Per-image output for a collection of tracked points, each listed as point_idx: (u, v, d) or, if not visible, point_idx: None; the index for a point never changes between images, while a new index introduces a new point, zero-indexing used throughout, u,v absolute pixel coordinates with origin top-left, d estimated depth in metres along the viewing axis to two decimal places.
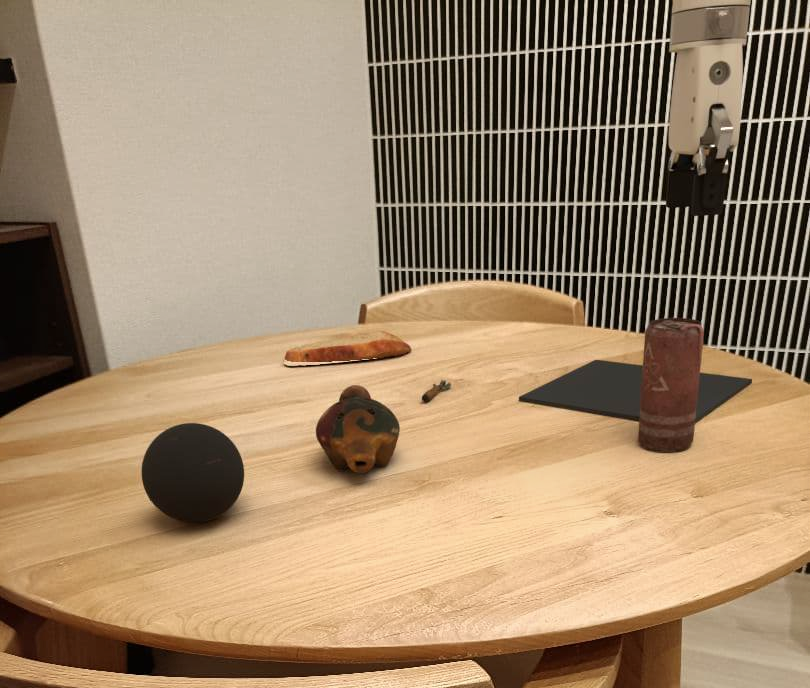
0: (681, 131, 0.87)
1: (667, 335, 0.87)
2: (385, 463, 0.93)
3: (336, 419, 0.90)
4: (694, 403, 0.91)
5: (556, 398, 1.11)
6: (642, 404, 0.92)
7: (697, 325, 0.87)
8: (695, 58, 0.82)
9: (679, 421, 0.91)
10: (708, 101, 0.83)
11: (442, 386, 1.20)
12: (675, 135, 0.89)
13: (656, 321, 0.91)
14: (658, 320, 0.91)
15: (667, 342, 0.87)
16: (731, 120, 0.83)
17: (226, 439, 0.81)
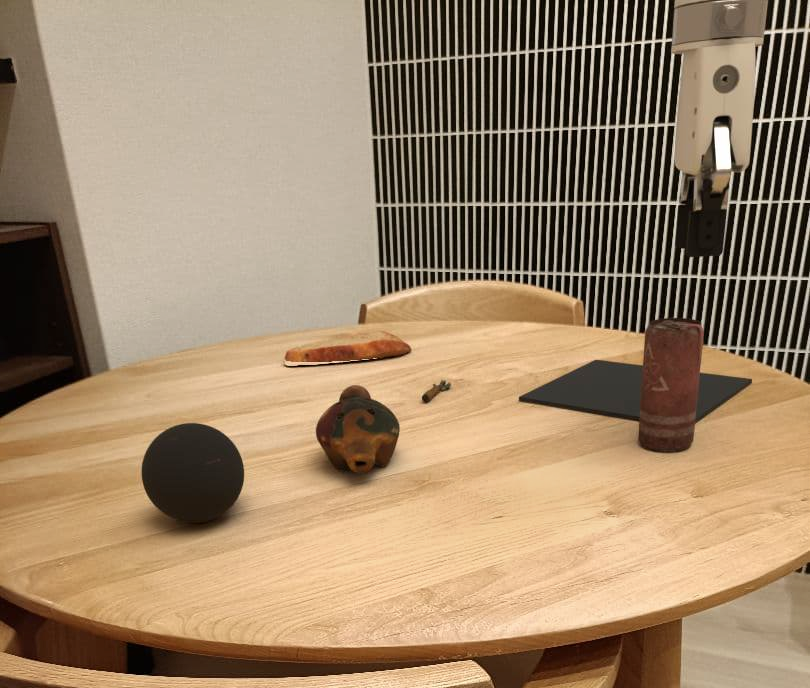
0: (683, 147, 0.74)
1: (667, 335, 0.87)
2: (385, 463, 0.93)
3: (336, 419, 0.90)
4: (694, 403, 0.91)
5: (556, 398, 1.11)
6: (642, 404, 0.92)
7: (697, 325, 0.87)
8: (697, 61, 0.69)
9: (679, 421, 0.91)
10: (712, 113, 0.69)
11: (442, 386, 1.20)
12: (679, 151, 0.76)
13: (656, 321, 0.91)
14: (658, 320, 0.91)
15: (667, 342, 0.87)
16: (740, 135, 0.70)
17: (226, 439, 0.81)
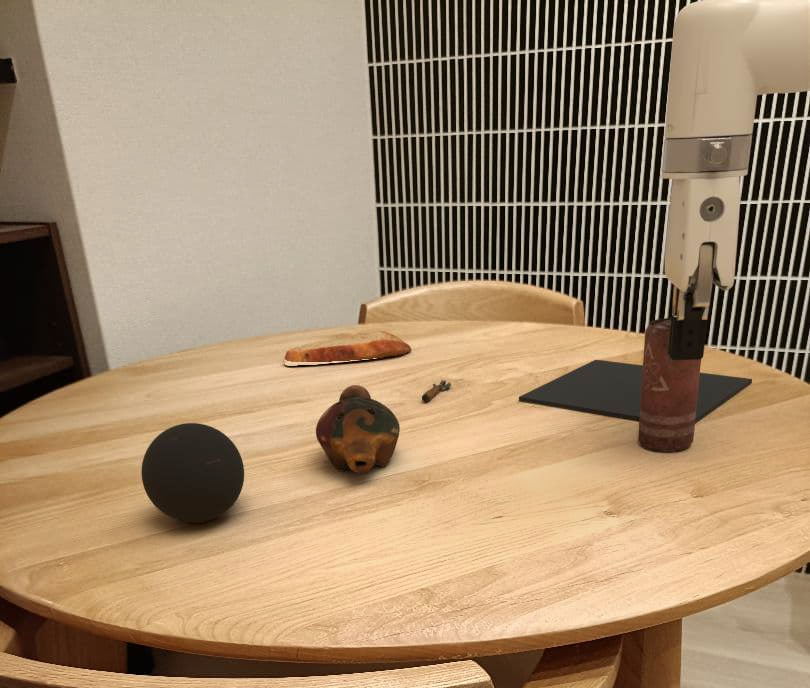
0: (672, 264, 0.78)
1: (667, 335, 0.87)
2: (385, 463, 0.93)
3: (336, 419, 0.90)
4: (694, 403, 0.91)
5: (556, 398, 1.11)
6: (642, 404, 0.92)
7: None
8: (685, 191, 0.73)
9: (679, 421, 0.91)
10: (698, 239, 0.74)
11: (442, 386, 1.20)
12: (668, 265, 0.81)
13: (656, 321, 0.91)
14: (658, 320, 0.91)
15: (667, 342, 0.87)
16: (725, 260, 0.74)
17: (226, 439, 0.81)
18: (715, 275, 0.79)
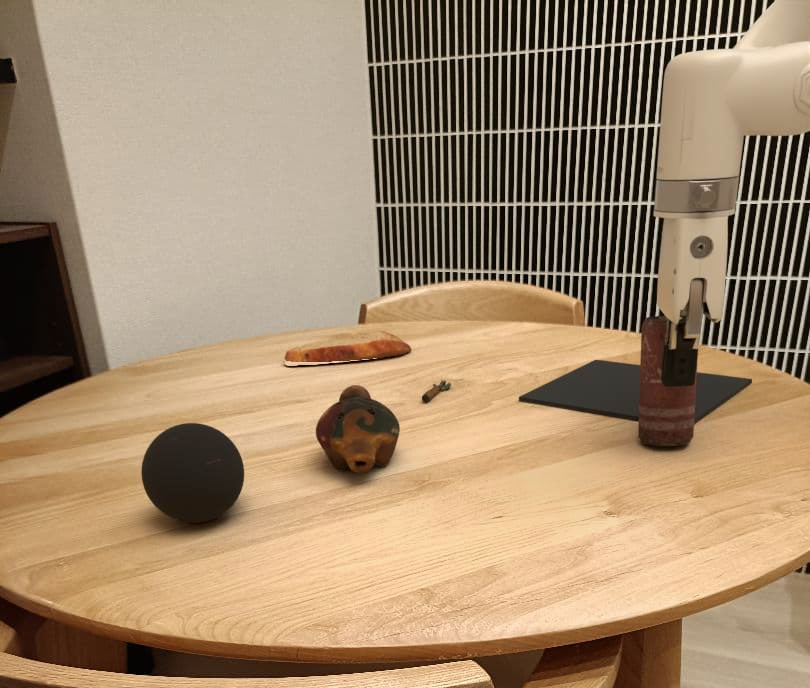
0: (664, 297, 0.82)
1: (663, 326, 0.88)
2: (385, 463, 0.93)
3: (336, 419, 0.90)
4: (693, 396, 0.91)
5: (556, 398, 1.11)
6: (641, 399, 0.93)
7: None
8: (676, 230, 0.77)
9: (678, 413, 0.91)
10: (689, 275, 0.78)
11: (442, 386, 1.20)
12: (661, 296, 0.85)
13: (652, 318, 0.92)
14: (654, 317, 0.93)
15: (663, 333, 0.88)
16: (714, 294, 0.78)
17: (226, 439, 0.81)
18: (705, 307, 0.83)
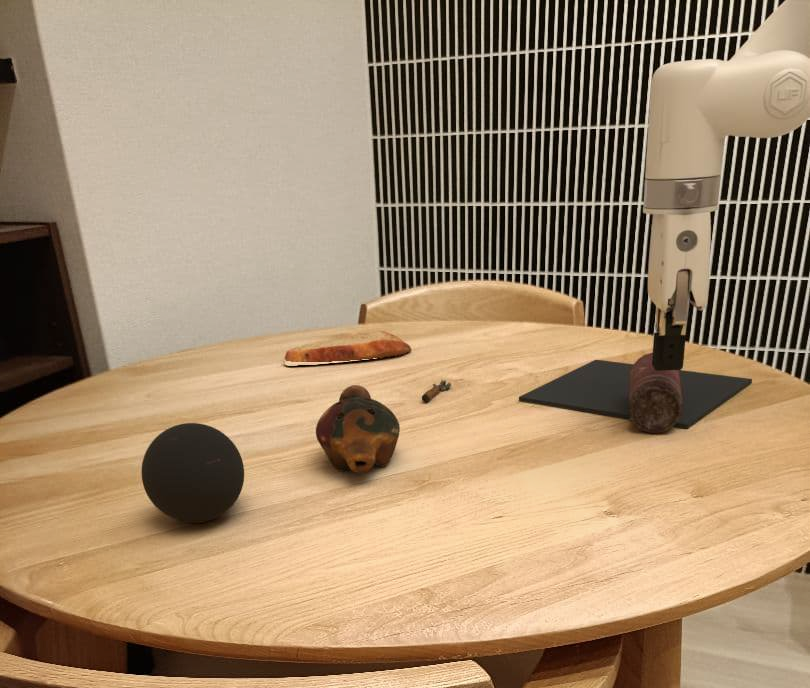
0: (654, 287, 0.89)
1: (642, 356, 1.07)
2: (385, 463, 0.93)
3: (336, 419, 0.90)
4: (674, 378, 0.99)
5: (556, 398, 1.11)
6: (629, 394, 1.01)
7: None
8: (664, 225, 0.84)
9: (659, 375, 0.98)
10: (675, 266, 0.84)
11: (442, 386, 1.20)
12: (650, 287, 0.91)
13: None
14: None
15: (642, 357, 1.06)
16: (699, 284, 0.85)
17: (226, 439, 0.81)
18: (692, 296, 0.90)
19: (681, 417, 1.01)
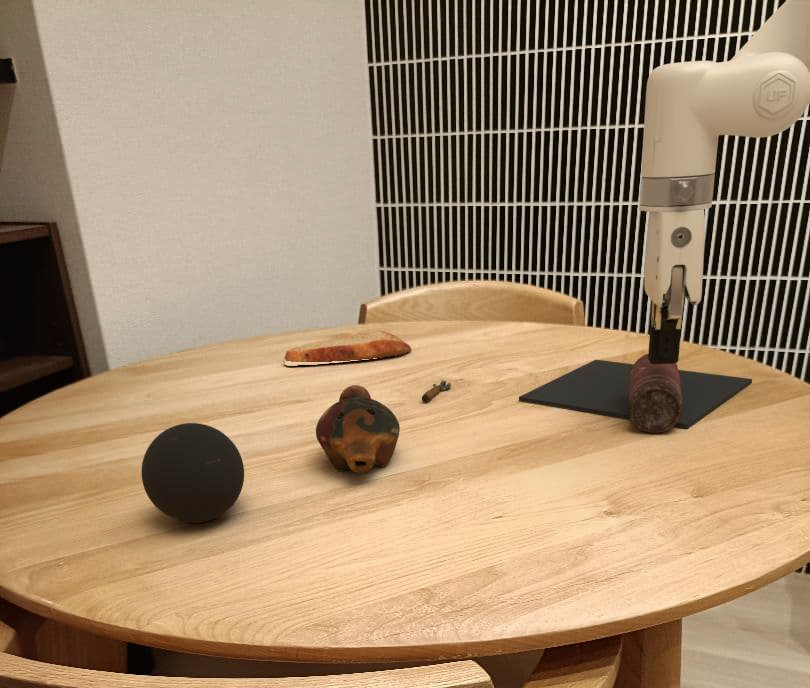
0: (650, 282, 0.92)
1: (642, 356, 1.07)
2: (385, 463, 0.93)
3: (336, 419, 0.90)
4: (674, 378, 0.99)
5: (556, 398, 1.11)
6: (629, 394, 1.01)
7: None
8: (659, 222, 0.87)
9: (659, 375, 0.98)
10: (670, 262, 0.87)
11: (442, 386, 1.20)
12: (647, 282, 0.94)
13: None
14: None
15: (642, 357, 1.06)
16: (693, 279, 0.87)
17: (226, 439, 0.81)
18: (687, 291, 0.92)
19: (681, 417, 1.01)
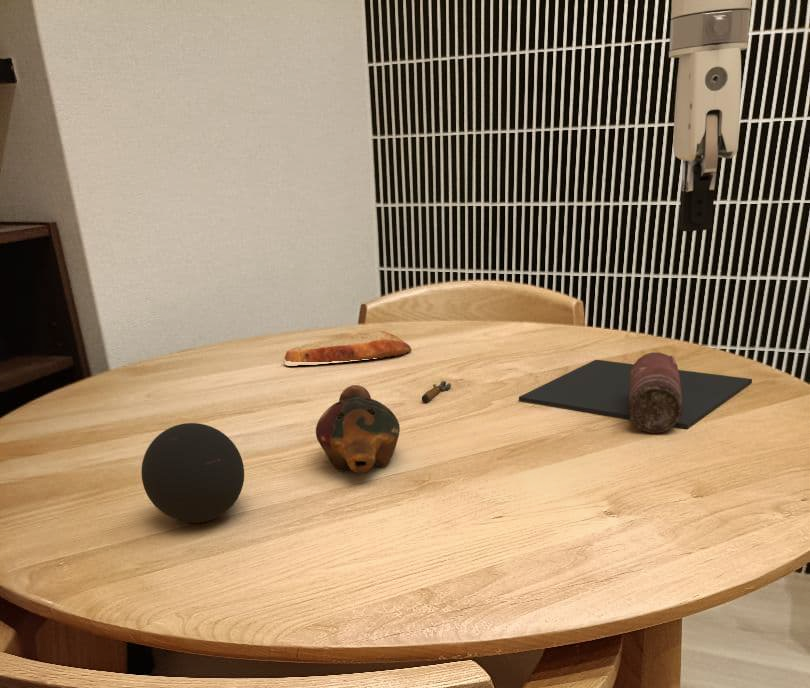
0: (681, 138, 0.86)
1: (642, 356, 1.07)
2: (385, 463, 0.93)
3: (336, 419, 0.90)
4: (674, 378, 0.99)
5: (556, 398, 1.11)
6: (629, 394, 1.01)
7: None
8: (692, 64, 0.81)
9: (659, 375, 0.98)
10: (705, 107, 0.81)
11: (442, 387, 1.20)
12: (677, 141, 0.88)
13: None
14: None
15: (642, 357, 1.06)
16: (729, 126, 0.82)
17: (226, 439, 0.81)
18: (720, 147, 0.87)
19: (681, 417, 1.01)
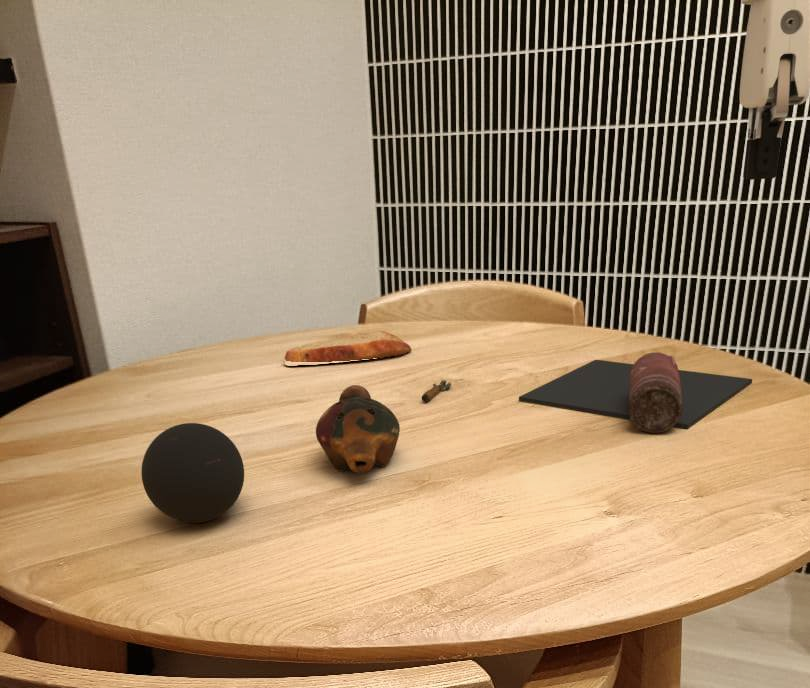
0: (751, 84, 0.87)
1: (642, 356, 1.07)
2: (385, 463, 0.93)
3: (336, 419, 0.90)
4: (674, 378, 0.99)
5: (556, 398, 1.11)
6: (629, 394, 1.01)
7: None
8: (767, 7, 0.82)
9: (659, 375, 0.98)
10: (779, 51, 0.82)
11: (442, 386, 1.20)
12: (745, 89, 0.89)
13: None
14: None
15: (642, 357, 1.06)
16: (802, 70, 0.82)
17: (226, 439, 0.81)
18: (789, 95, 0.87)
19: (681, 417, 1.01)
